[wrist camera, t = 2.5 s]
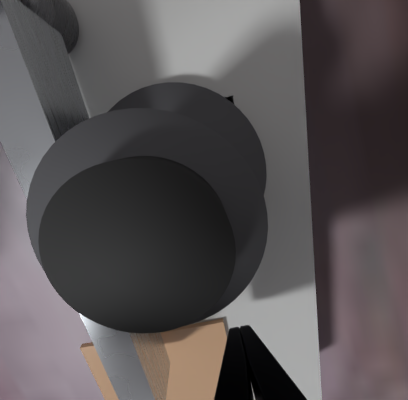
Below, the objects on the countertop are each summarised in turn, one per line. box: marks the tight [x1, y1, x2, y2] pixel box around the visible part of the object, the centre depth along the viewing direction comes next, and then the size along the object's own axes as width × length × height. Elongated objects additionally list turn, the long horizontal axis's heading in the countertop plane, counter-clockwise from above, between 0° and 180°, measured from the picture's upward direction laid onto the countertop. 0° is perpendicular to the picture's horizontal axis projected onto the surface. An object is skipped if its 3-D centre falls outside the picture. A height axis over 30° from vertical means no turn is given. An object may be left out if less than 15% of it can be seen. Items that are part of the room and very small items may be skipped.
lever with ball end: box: [0, 0, 170, 400], centre depth 6 cm, size 2×14×3 cm, turn 11°
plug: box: [26, 82, 268, 334], centre depth 7 cm, size 6×6×9 cm
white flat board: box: [67, 0, 322, 400], centre depth 10 cm, size 12×26×3 cm, turn 11°
